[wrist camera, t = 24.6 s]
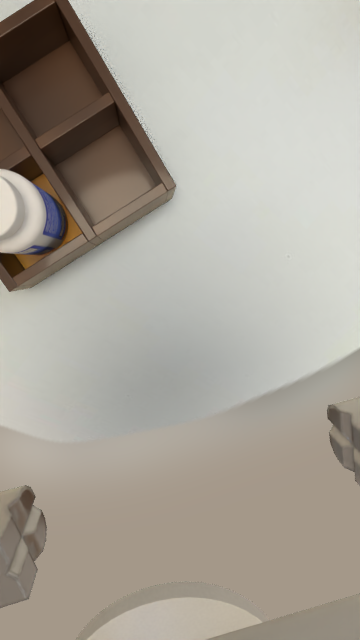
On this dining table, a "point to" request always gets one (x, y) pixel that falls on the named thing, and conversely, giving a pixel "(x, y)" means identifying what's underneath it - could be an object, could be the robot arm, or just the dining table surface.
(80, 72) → the grid
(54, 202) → the pill bottle
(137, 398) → the dining table surface
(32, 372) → the dining table surface
